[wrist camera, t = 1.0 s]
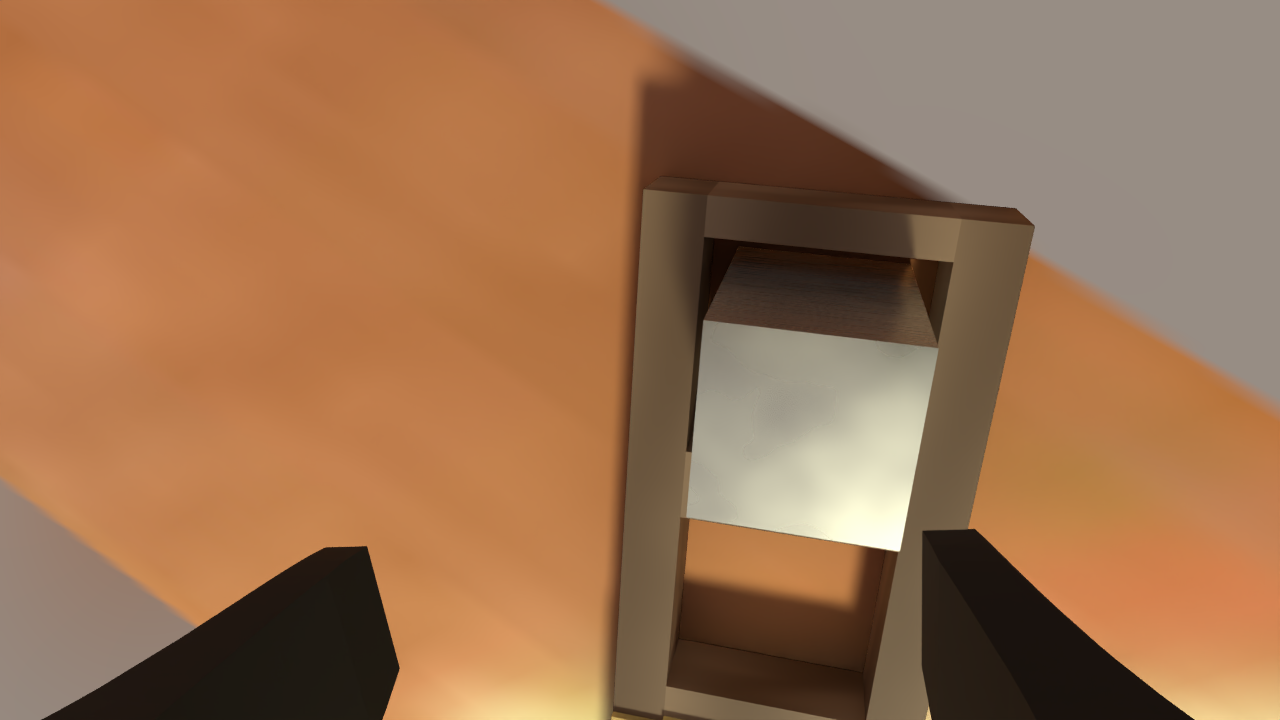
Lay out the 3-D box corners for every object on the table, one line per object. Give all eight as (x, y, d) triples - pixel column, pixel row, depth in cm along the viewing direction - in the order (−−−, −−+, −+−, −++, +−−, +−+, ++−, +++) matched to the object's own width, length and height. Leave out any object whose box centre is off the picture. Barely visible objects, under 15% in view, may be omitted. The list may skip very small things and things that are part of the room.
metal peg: (910, 264, 20) (938, 348, 15) (883, 420, 21) (900, 551, 16) (738, 246, 21) (703, 320, 15) (723, 399, 22) (686, 517, 17)
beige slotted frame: (1015, 208, 19) (1036, 227, 17) (871, 888, 27) (874, 957, 25) (660, 176, 20) (641, 190, 18) (618, 830, 28) (601, 891, 26)
